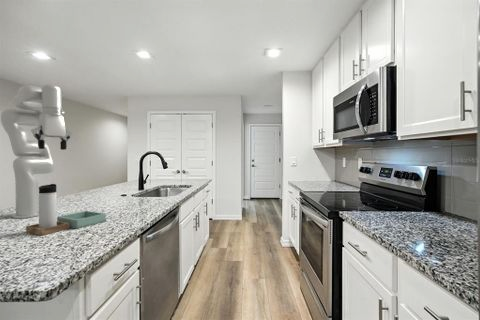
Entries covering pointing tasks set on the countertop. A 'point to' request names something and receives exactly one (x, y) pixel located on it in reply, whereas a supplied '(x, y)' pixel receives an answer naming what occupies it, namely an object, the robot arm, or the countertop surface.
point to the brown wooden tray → (38, 231)
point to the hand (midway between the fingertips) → (52, 149)
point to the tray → (83, 219)
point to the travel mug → (47, 206)
